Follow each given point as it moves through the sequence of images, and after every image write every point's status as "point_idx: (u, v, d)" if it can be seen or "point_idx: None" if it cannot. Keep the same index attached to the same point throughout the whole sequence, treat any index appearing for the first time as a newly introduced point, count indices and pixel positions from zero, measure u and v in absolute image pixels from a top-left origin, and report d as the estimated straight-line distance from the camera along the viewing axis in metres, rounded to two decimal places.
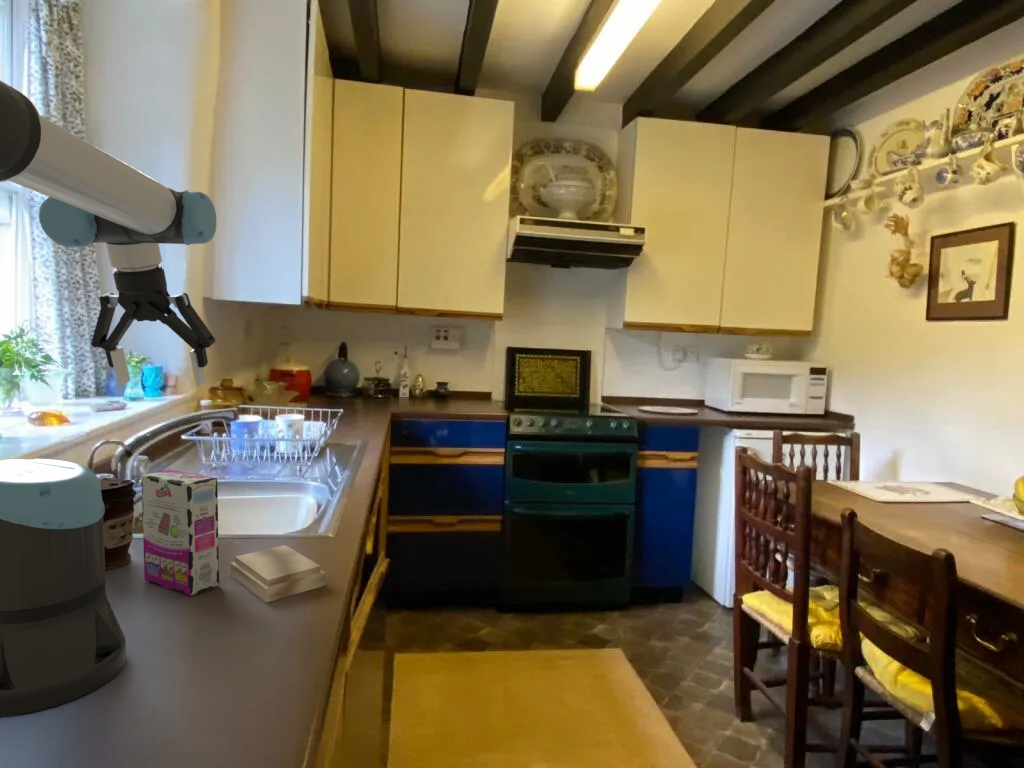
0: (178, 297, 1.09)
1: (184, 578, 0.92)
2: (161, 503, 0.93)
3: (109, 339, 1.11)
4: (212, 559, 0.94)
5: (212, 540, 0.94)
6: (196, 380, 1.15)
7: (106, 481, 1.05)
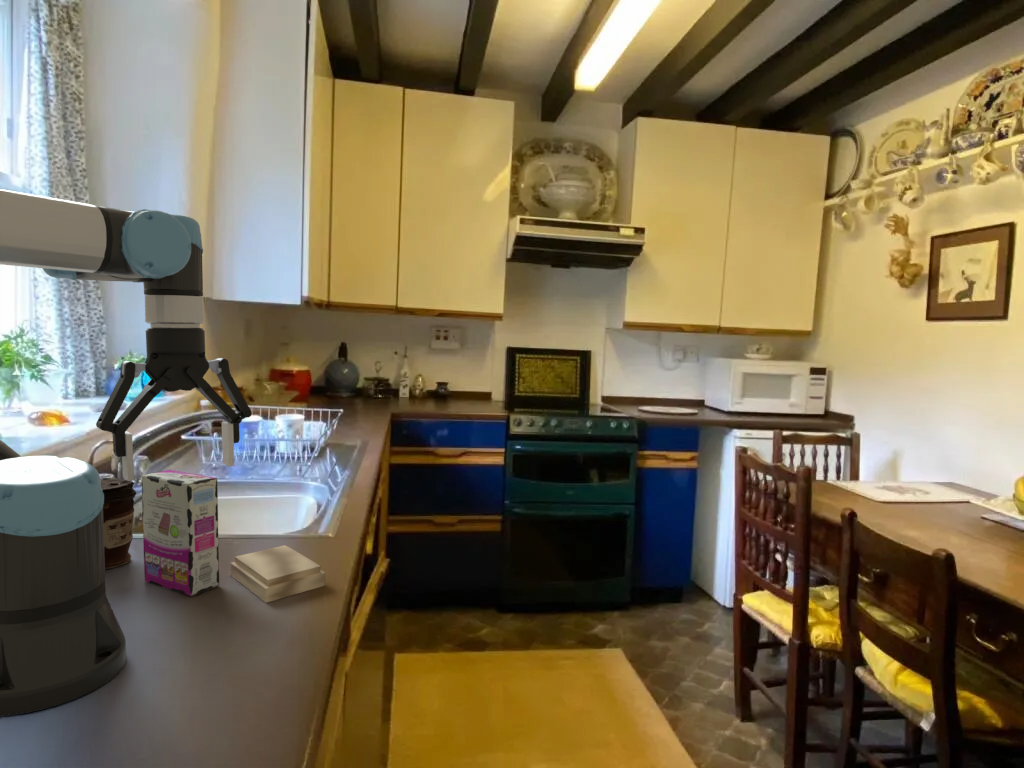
0: (224, 360, 0.97)
1: (184, 578, 0.92)
2: (161, 503, 0.93)
3: (127, 418, 0.88)
4: (212, 559, 0.94)
5: (212, 540, 0.94)
6: (230, 459, 0.98)
7: (106, 481, 1.04)
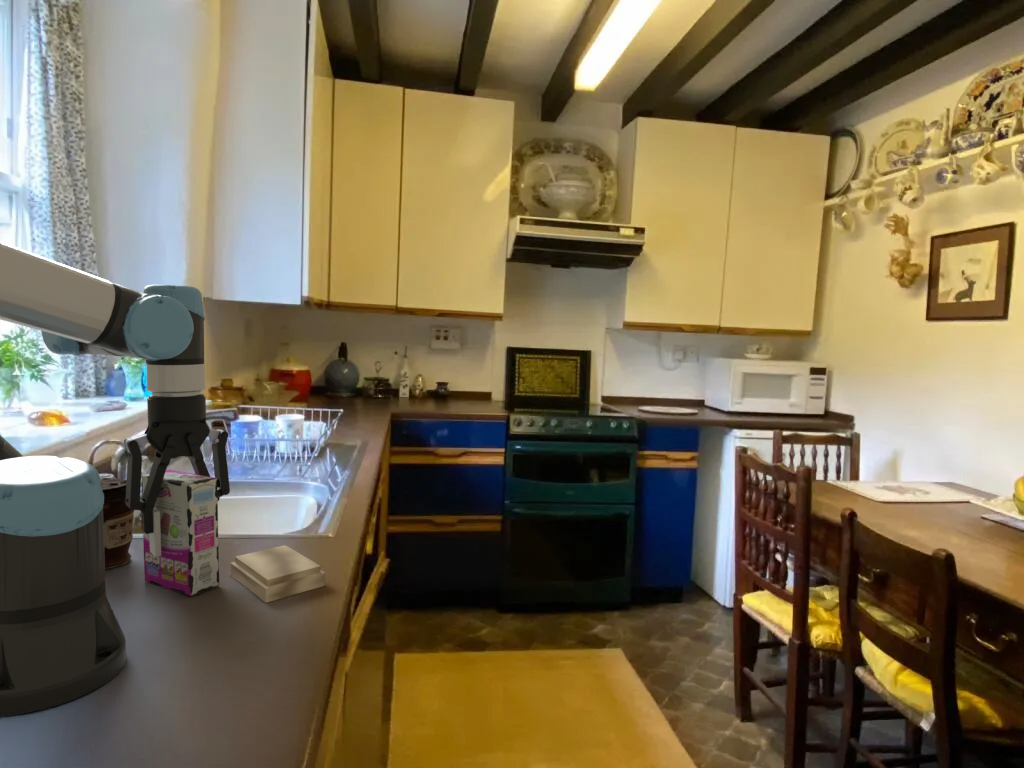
0: (225, 432, 0.97)
1: (184, 577, 0.92)
2: (161, 503, 0.93)
3: (150, 495, 0.91)
4: (212, 559, 0.94)
5: (212, 540, 0.94)
6: None
7: (106, 481, 1.04)
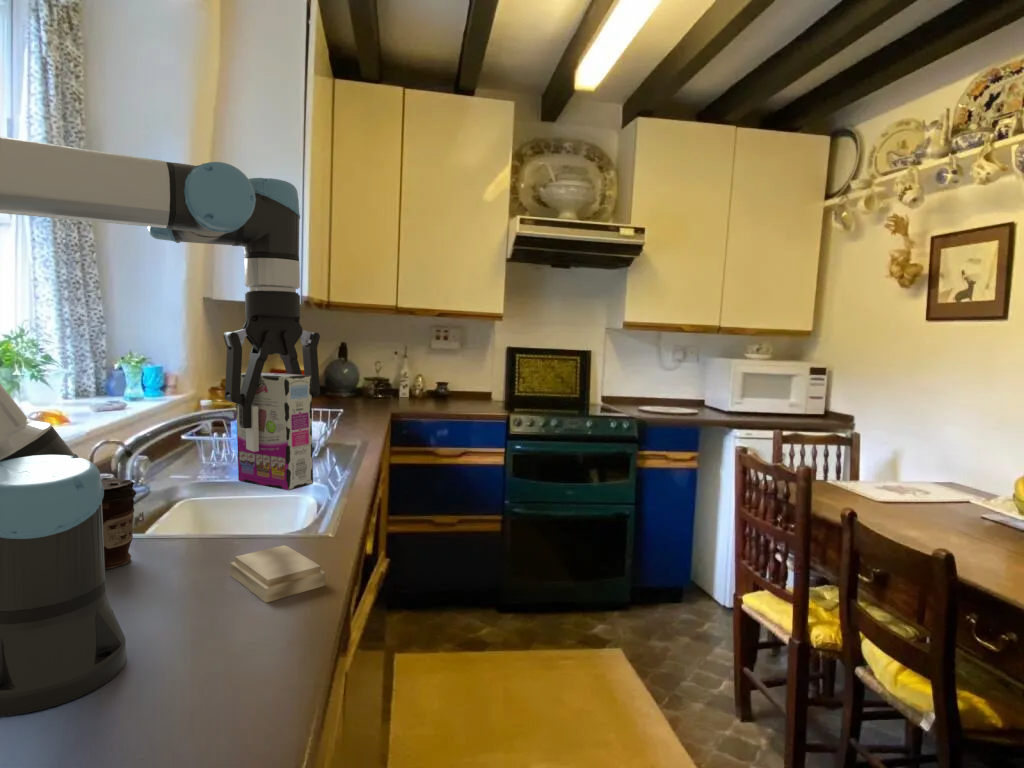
0: (317, 334, 0.98)
1: (281, 472, 0.92)
2: (257, 399, 0.94)
3: (249, 389, 0.92)
4: (307, 456, 0.94)
5: (306, 437, 0.94)
6: None
7: (106, 481, 1.04)
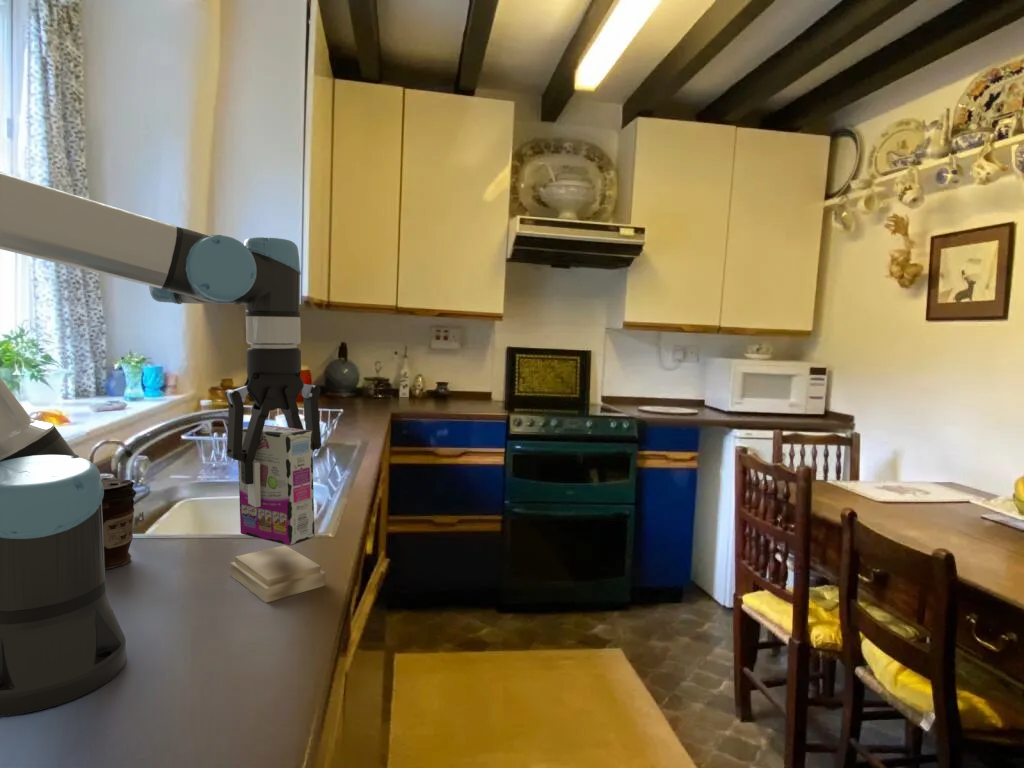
0: (318, 387, 0.99)
1: (283, 528, 0.93)
2: (259, 455, 0.94)
3: (251, 446, 0.92)
4: (308, 510, 0.95)
5: (308, 491, 0.95)
6: None
7: (106, 481, 1.05)
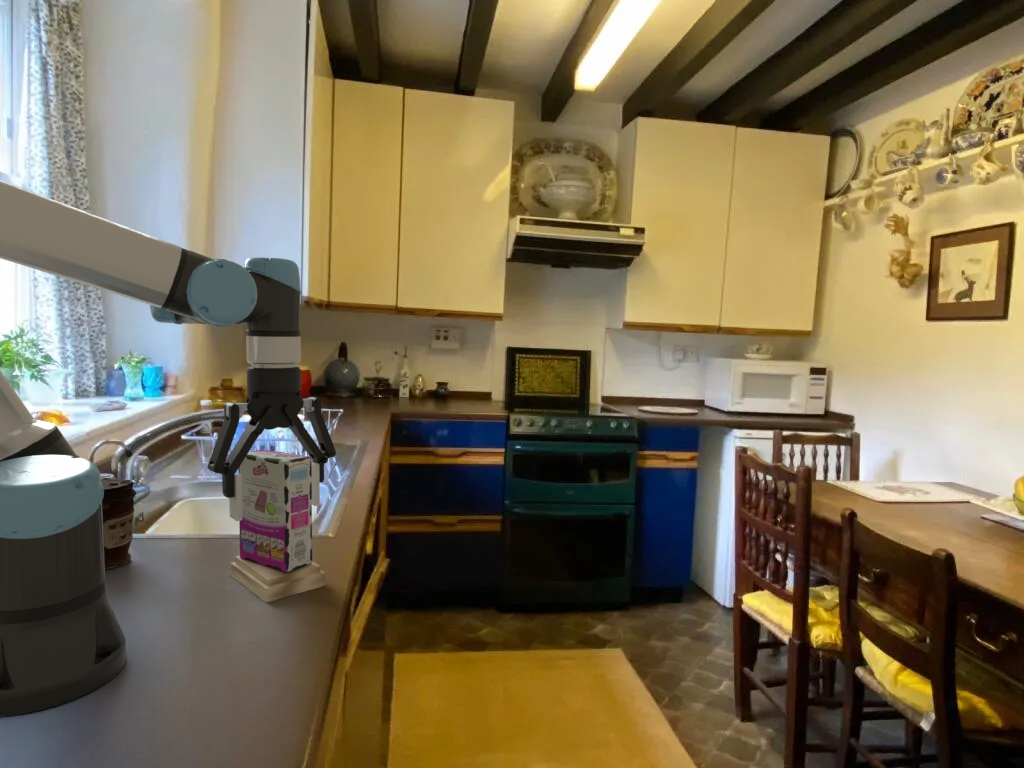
0: (318, 399, 0.99)
1: (280, 554, 0.93)
2: (258, 480, 0.95)
3: (236, 459, 0.91)
4: (306, 537, 0.95)
5: (306, 518, 0.95)
6: (316, 498, 1.00)
7: (106, 481, 1.05)
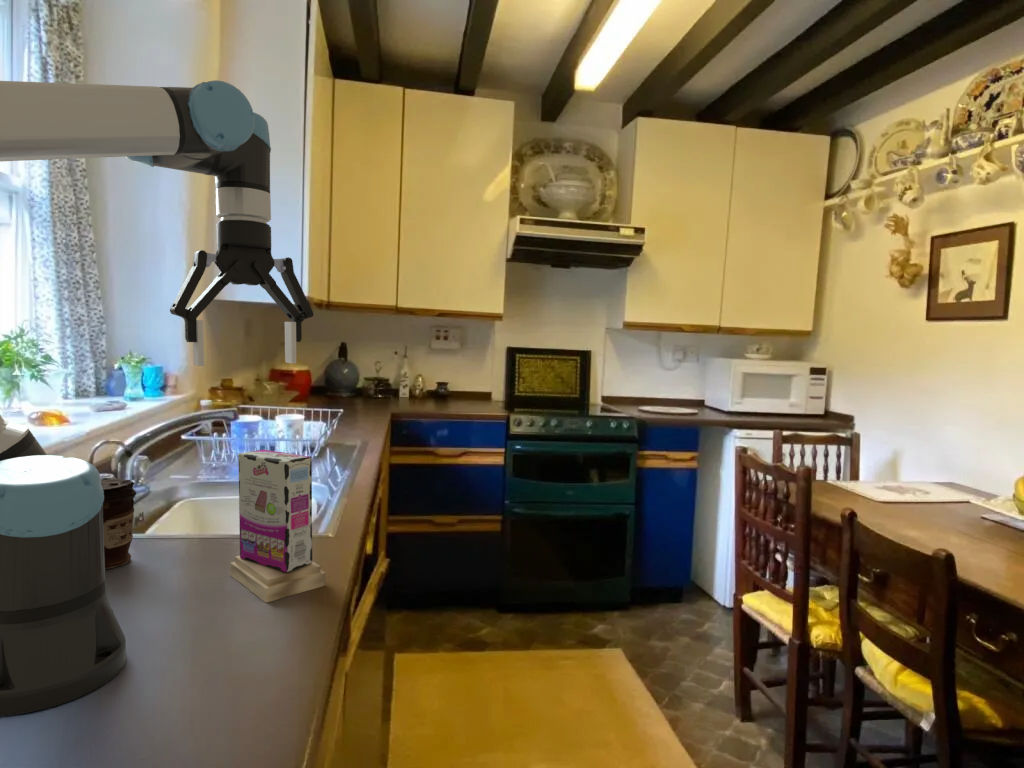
0: (289, 258, 1.00)
1: (280, 554, 0.93)
2: (258, 480, 0.95)
3: (199, 304, 0.92)
4: (306, 537, 0.95)
5: (306, 518, 0.95)
6: (293, 356, 1.01)
7: (106, 481, 1.05)
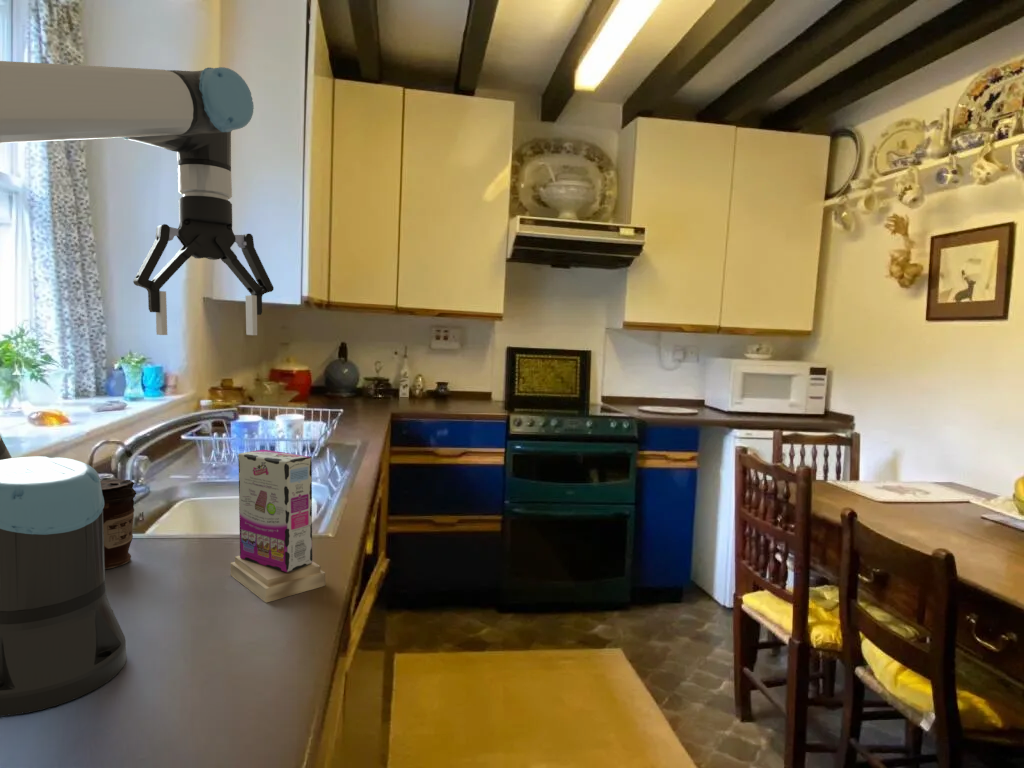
0: (249, 234, 1.04)
1: (280, 554, 0.93)
2: (258, 480, 0.95)
3: (162, 276, 0.96)
4: (306, 537, 0.95)
5: (306, 518, 0.95)
6: (254, 328, 1.06)
7: (106, 481, 1.05)
